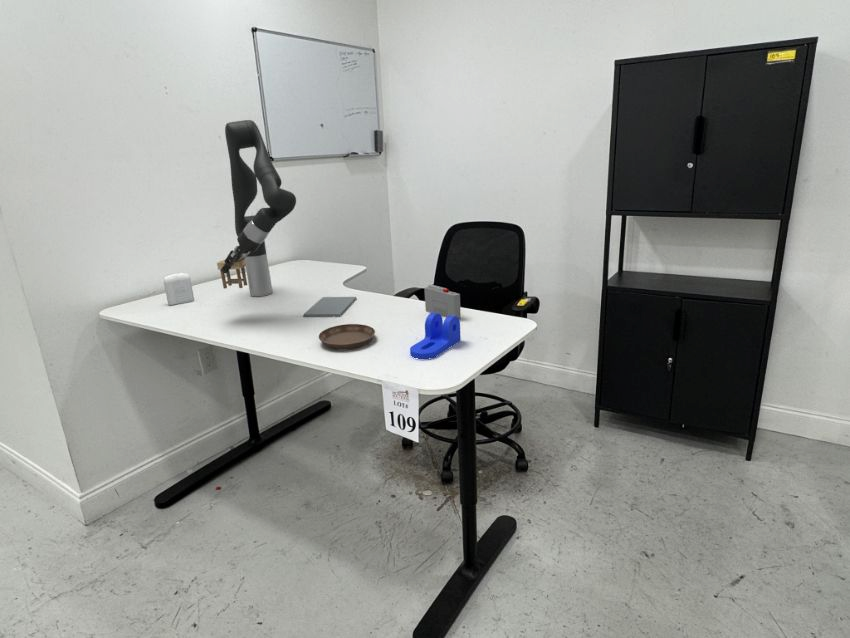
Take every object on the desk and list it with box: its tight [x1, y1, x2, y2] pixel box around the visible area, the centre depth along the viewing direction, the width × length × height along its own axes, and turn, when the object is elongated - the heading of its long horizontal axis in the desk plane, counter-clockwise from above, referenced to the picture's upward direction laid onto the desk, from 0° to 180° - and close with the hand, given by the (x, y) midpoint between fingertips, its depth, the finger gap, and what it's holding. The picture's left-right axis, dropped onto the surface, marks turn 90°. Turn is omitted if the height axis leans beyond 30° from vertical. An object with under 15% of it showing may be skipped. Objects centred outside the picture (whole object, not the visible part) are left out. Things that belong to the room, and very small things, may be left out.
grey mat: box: [302, 296, 357, 318], centre depth 201 cm, size 22×14×1 cm, turn 171°
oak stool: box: [216, 259, 248, 290], centre depth 187 cm, size 5×8×9 cm, turn 82°
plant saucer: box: [318, 323, 376, 350], centre depth 165 cm, size 18×18×3 cm
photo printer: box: [163, 272, 195, 306], centre depth 217 cm, size 10×4×12 cm, turn 123°
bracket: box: [409, 313, 462, 360], centre depth 155 cm, size 18×8×9 cm, turn 147°
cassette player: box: [423, 284, 462, 320], centre depth 184 cm, size 16×3×10 cm, turn 40°
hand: (227, 269), depth 187 cm, fingers closed on oak stool, 5 cm apart
